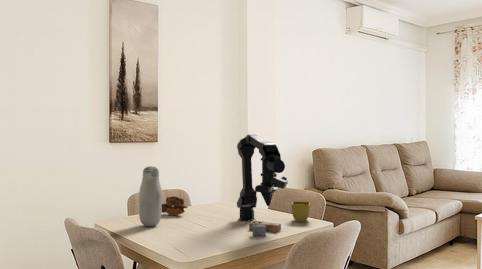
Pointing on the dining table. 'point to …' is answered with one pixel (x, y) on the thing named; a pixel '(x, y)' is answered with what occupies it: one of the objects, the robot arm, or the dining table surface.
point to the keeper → (259, 230)
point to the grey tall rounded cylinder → (150, 197)
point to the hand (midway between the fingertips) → (268, 205)
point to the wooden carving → (174, 206)
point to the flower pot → (300, 210)
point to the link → (267, 226)
